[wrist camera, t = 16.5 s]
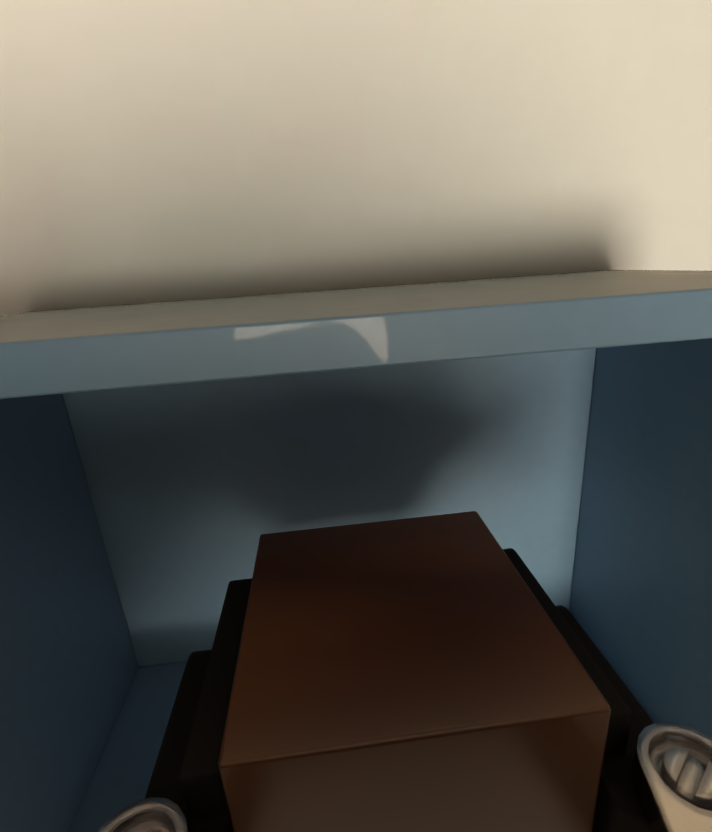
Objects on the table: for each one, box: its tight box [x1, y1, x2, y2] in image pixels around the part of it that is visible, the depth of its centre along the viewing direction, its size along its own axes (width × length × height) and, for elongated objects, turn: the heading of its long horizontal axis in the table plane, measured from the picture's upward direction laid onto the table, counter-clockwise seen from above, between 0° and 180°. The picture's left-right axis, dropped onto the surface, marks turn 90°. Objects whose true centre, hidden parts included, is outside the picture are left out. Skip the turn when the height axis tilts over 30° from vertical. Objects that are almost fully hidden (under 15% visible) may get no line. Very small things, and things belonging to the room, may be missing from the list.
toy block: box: [218, 511, 611, 832], centre depth 8 cm, size 5×5×5 cm
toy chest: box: [0, 270, 712, 832], centre depth 12 cm, size 18×14×8 cm
